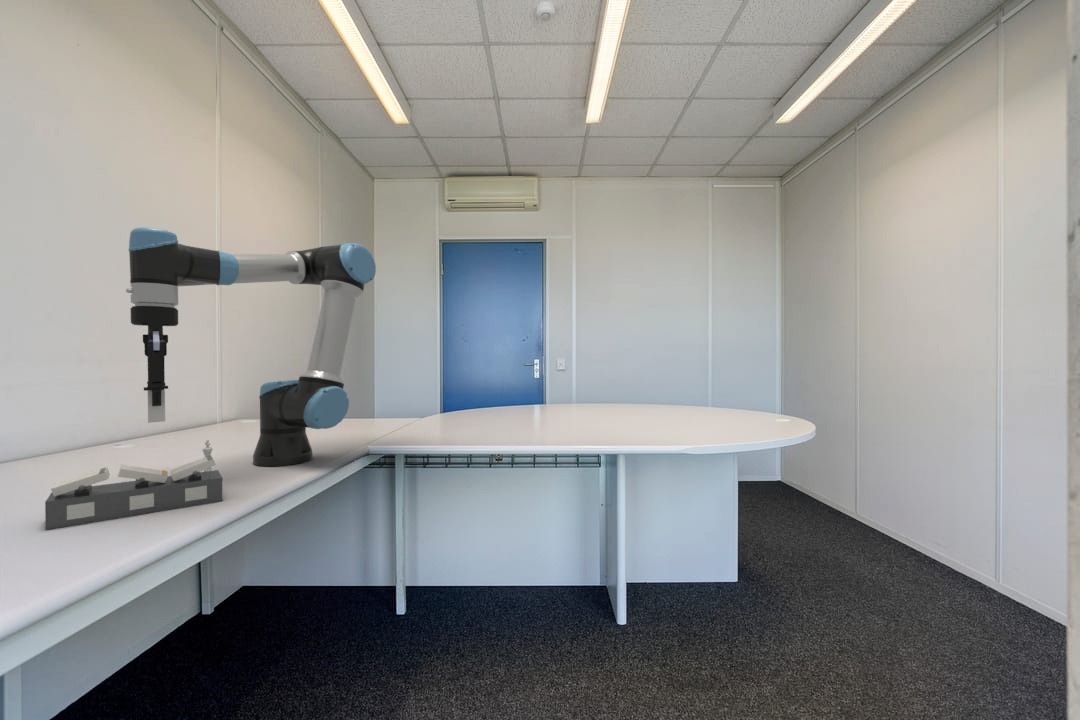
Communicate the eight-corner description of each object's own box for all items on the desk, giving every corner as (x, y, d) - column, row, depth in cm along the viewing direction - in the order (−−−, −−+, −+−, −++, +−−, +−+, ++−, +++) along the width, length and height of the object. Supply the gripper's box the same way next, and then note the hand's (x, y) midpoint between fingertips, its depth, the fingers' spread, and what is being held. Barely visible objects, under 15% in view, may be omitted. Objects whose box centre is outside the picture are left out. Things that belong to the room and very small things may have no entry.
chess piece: (201, 485, 111) (201, 443, 111) (191, 482, 113) (190, 441, 113) (224, 480, 115) (223, 439, 115) (213, 477, 118) (213, 437, 118)
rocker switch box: (218, 492, 106) (218, 467, 106) (222, 501, 99) (222, 474, 99) (52, 517, 89) (52, 488, 89) (45, 530, 83) (45, 498, 83)
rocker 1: (110, 476, 93) (106, 467, 93) (109, 481, 90) (105, 471, 89) (58, 493, 88) (54, 483, 88) (54, 498, 85) (50, 488, 85)
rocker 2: (163, 480, 98) (167, 470, 99) (164, 485, 95) (168, 475, 95) (117, 474, 94) (122, 464, 94) (116, 479, 90) (121, 468, 91)
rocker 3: (214, 463, 104) (211, 454, 103) (216, 466, 100) (213, 458, 100) (173, 478, 99) (169, 470, 99) (174, 483, 96) (170, 474, 95)
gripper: (130, 307, 98) (132, 419, 99) (130, 302, 88) (132, 427, 89) (176, 309, 103) (177, 416, 104) (180, 305, 93) (182, 423, 94)
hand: (156, 421), depth 96 cm, fingers closed
